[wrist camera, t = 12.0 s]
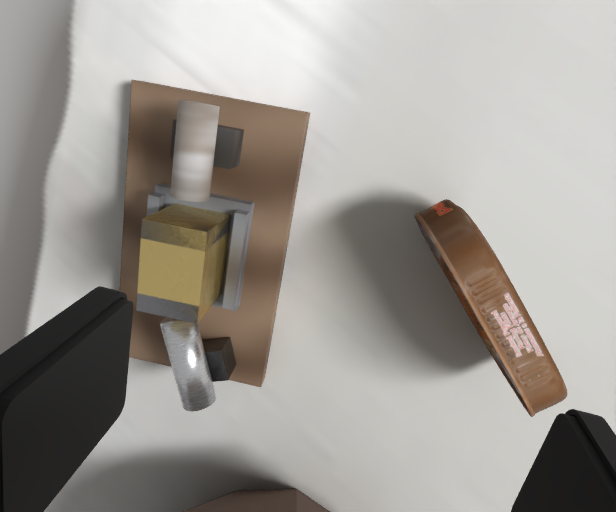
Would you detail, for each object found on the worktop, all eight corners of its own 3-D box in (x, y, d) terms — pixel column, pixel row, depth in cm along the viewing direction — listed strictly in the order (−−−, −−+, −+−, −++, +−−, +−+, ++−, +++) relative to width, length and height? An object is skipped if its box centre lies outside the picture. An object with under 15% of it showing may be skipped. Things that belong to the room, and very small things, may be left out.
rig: (142, 81, 33) (92, 75, 27) (310, 112, 32) (296, 113, 27) (125, 345, 40) (82, 386, 34) (264, 377, 39) (245, 424, 33)
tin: (406, 205, 34) (417, 235, 26) (447, 182, 33) (472, 205, 25) (501, 373, 36) (538, 448, 28) (541, 356, 35) (591, 428, 27)
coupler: (175, 203, 33) (141, 219, 28) (231, 214, 33) (207, 232, 28) (168, 283, 35) (136, 310, 30) (221, 294, 34) (197, 323, 30)
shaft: (171, 302, 36) (142, 329, 32) (220, 296, 36) (199, 323, 31) (191, 377, 38) (167, 413, 34) (238, 373, 37) (220, 409, 33)
